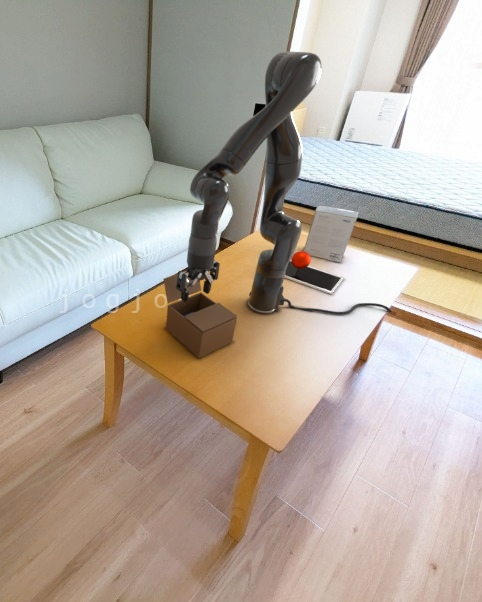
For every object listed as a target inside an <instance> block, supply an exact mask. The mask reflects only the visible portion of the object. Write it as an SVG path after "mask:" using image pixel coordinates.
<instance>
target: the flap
mask: <svg viewBox="0 0 482 602" xmlns="http://www.w3.org/2000/svg"><path fill="white" fill-rule="evenodd" d="M185 271H186V270H185ZM185 271H183V272H185ZM177 276H178V273H175V274H173V275H171V276H167V277H165V278H163V279H162V280H163V286H164V291H165V297H166V302H167V304H171V303H174V302H176V301H179V300H182V299H181V292H180V291H179V290H177V289H176V283H177ZM189 282H192V280H191V279H190V278H189ZM201 285H202V284H201V280H200V281H198V282H196V283H195V285H194V286H193V287H191V289H190V290H189V296H192V295H195V294H197V293H200V292H201V291H202V287H201ZM180 286H181V285H180ZM187 286H188V284H187V285H186V288H187Z"/></svg>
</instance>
